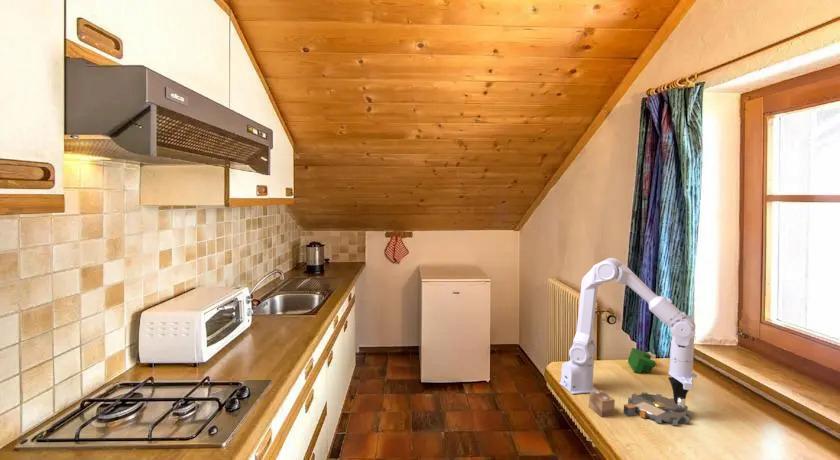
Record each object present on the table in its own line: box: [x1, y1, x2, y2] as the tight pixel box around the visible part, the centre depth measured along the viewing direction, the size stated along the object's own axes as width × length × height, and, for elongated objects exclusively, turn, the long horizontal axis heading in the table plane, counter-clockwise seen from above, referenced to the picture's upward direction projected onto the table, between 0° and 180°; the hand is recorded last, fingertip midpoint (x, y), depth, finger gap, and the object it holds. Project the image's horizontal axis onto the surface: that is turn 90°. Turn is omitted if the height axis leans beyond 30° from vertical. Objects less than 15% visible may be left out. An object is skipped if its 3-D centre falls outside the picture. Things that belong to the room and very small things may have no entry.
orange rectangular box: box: [623, 403, 636, 417], centre depth 123 cm, size 2×2×3 cm
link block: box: [588, 390, 616, 418], centre depth 125 cm, size 6×4×5 cm, turn 12°
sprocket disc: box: [627, 391, 692, 426], centre depth 125 cm, size 16×16×5 cm
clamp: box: [627, 347, 657, 374], centre depth 157 cm, size 12×6×9 cm
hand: (679, 403), depth 124 cm, fingers closed, pressing on sprocket disc
